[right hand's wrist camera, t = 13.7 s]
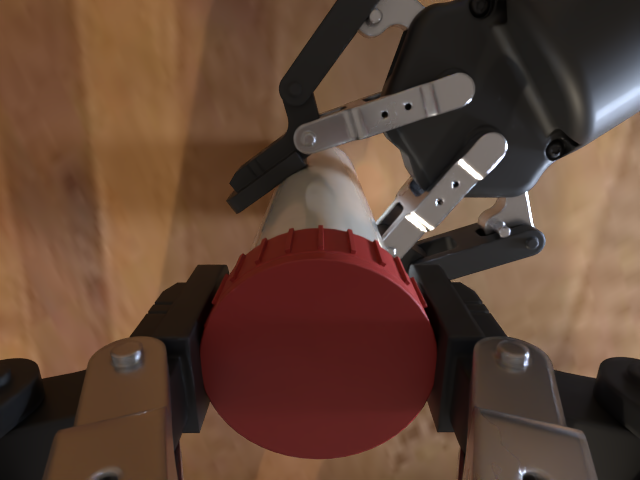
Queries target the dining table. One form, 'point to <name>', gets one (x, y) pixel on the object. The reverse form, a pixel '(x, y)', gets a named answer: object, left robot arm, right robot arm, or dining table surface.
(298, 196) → the jar
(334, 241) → the lid
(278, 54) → the dining table surface
